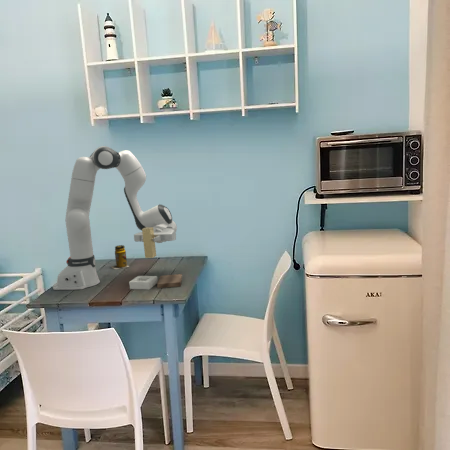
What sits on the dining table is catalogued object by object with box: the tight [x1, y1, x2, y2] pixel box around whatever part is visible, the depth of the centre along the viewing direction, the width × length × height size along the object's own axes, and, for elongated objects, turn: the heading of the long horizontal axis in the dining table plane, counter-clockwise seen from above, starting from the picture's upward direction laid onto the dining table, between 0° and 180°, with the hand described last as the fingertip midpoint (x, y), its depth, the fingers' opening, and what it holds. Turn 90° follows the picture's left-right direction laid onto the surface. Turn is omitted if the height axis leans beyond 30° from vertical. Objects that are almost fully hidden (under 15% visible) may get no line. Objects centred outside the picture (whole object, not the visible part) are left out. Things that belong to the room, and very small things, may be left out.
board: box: [156, 273, 183, 289], centre depth 229 cm, size 11×14×2 cm
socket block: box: [128, 275, 158, 290], centre depth 226 cm, size 10×10×4 cm
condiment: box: [111, 244, 130, 270], centre depth 265 cm, size 7×8×12 cm
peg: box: [141, 227, 157, 259], centre depth 224 cm, size 4×4×14 cm
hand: (148, 240), depth 223 cm, fingers closed on peg, 4 cm apart
